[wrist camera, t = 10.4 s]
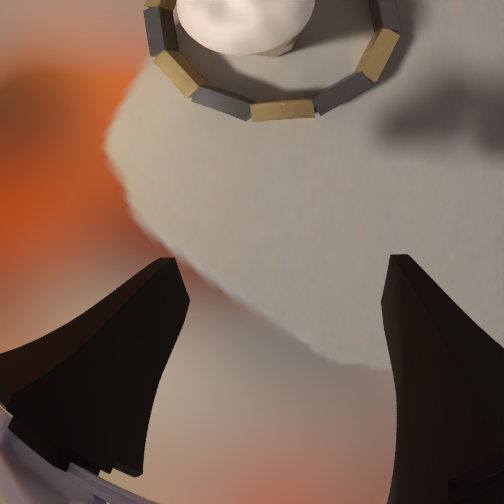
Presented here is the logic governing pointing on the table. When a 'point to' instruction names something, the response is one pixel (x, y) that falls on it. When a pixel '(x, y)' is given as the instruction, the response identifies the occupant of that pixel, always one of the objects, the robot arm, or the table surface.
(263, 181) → the table surface
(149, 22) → the ring
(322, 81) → the table surface
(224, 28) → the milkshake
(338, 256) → the table surface
